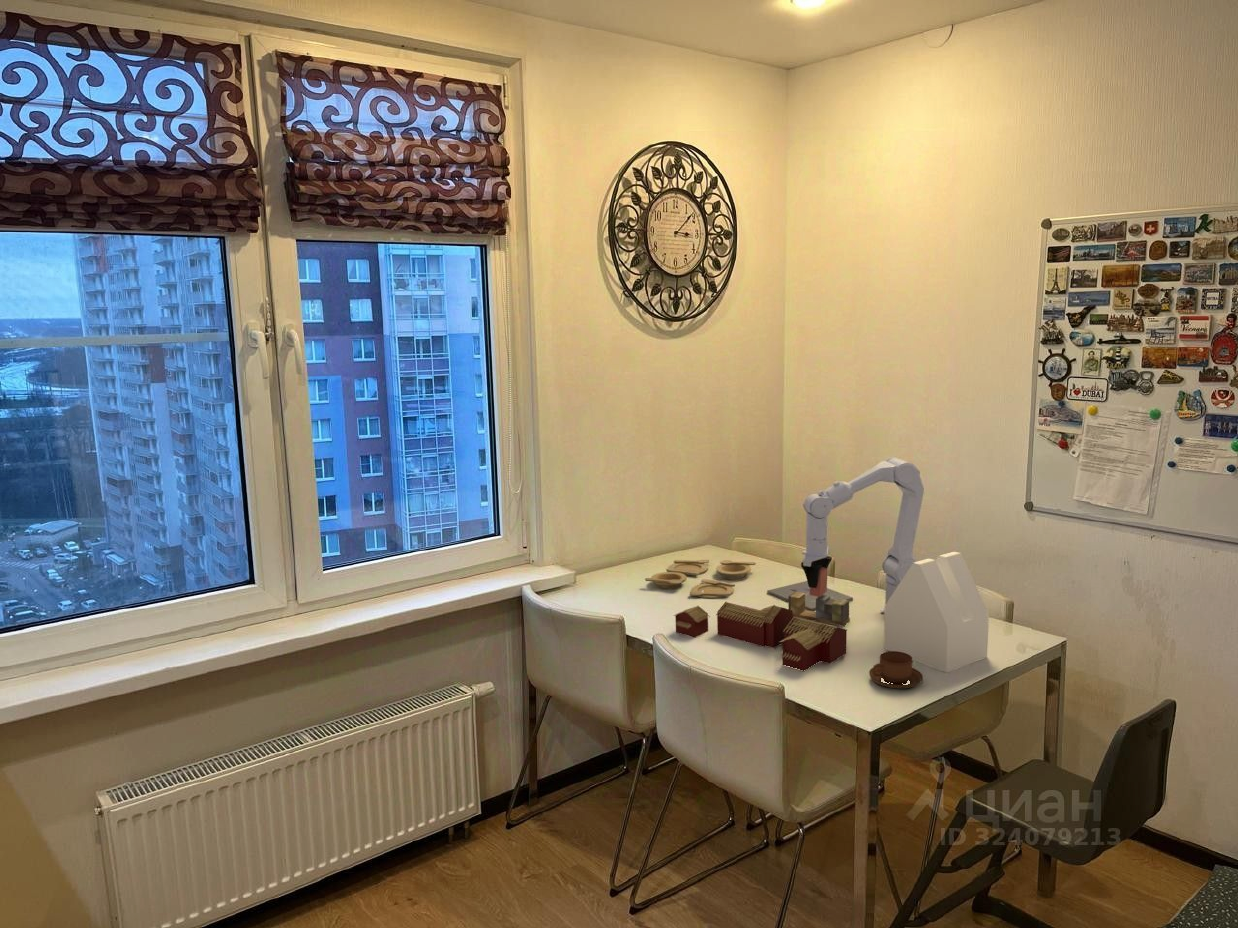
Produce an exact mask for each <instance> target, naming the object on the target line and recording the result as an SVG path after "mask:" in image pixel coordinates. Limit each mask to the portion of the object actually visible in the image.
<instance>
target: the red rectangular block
mask: <svg viewBox="0 0 1238 928" xmlns="http://www.w3.org/2000/svg"><path fill="white" fill-rule="evenodd" d="M828 568H829V567H828ZM828 568H824V567H821V569H820V572H819V576H818V584H817V587H816V588H811V587H810V595H812V596H817V597H821V596H822V595H823V594H825V593H826V592H827V588H828V573H829V572H828V570H829V569H828Z"/></svg>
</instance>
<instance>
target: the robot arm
mask: <svg viewBox="0 0 1238 928" xmlns="http://www.w3.org/2000/svg"><path fill="white" fill-rule="evenodd" d="M879 482H883V483H890V484H891V483H894V484H895V485H896V486H897V487H898V488H899V489H900V491H901V492H902V496H901V502H900V507H899V512H898V517H897V523H896V529H895V533H894V538H893V539H894V540H893V544H892V546H891V547H890V548H889V549H888V551H887V555H886V557H885V558H884V559H883V562H882V563H881V564H882V565H881V567H882V571H883V573H885V575H886V576H885V596H884V597H885V600H884V601H885V603H884V604H885V605H886V603H887V602H888V600H889V599H890V597H891V596H892V594H893V593H894V591H895V590H896V588H897V587H898V585H899V583H900V582H901V580H902V579H903V577H904V576H905V574H906V573H907V571H908V570H909V568H910V567H911V565H912V564H913V563H914V562H917V560H916V557H915V555H914V551H913V550H914V546H915V545H914V544H915V538H916V536H917V535H916V534H917V528H918V524H919V518H920V514H921V510H922V509H921V507H922V502H923V497H924V494H925V492H924V490H925V488H924V484H923V482H922V479H921V470H919V469H918V468H917V467H916V466H915V464H913V463H911V462H908V461H905V460H903V459H901V458H899V457H896V456H892V457H889V458H887V459H885V460H882V461H880V462H878V463H877V464H876V465H875V466H873V467H872V468H870V469H868V470H867V471H865V472H863V473H862V474H860V475H858V476H856V477H855V478H853V479H852V480H850V481H848V482H846V481H842V480H840V481H834V482H833V485H831V486H830V487H827V488H826V489H823V490H822V489H821V490H819V491H818V493H812V494H809V495H808V496H807V497H806V498H805V500H804V502H803V504H802V507H803V509H804V511H805V512H806V521H805V522H806V523H805V524H806V525H805V528H806V531H805V535H806V536H805V539H806V540H805V542H806V543H805V545H806V547H805V550H802V553H801V554H802V555H804V558H803V559H802V562H800V566H801V568H802V569H803V573H804V575H805V577H806V581H807V582H808V586H809V587H811V588H816V587H817V584H818V576H819V572H820V569H821V567H824V568H829V565H830V564H831V562H832V560H833V556H830V555H829V554H830V550H831V549H830V546H828V516H829V515H830V513H831V511H832V510H834V509H836V508H838V507H840V506H841V505H843V504H845V503H847V502H849V501H851V500H852V499H853V497H854V494H855V493H857V492H859V491H862V490H864V489H866V488H868V487H870V486H873V485H875V484H877V483H879ZM885 605H884V607H883V608H882V609H881V610H880V613H881V614H885Z"/></svg>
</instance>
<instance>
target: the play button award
mask: <svg viewBox="0 0 1238 928" xmlns="http://www.w3.org/2000/svg"><path fill="white" fill-rule="evenodd" d="M794 592H800V593H805V610H808V611H814V612H816V598H818V597H817V596H812V595H810V587H809V586H808V582H807V580H805V581H801V582H798V583H793V584H789V585H785V586H781V587H776V588H772V589H768V590H767V591H766V593H767V595H770V596H771V597H774V598H777V599H780V600H781V601H784V602H787V603H788V596H789V595H791V594H792V593H794ZM823 595H829V596H830V599H833V600H837V599H844V600H849V603H850V602H853V601H854V598H853V597H852V596H850V595H847V594H844V593H841V592H839V591H837V590H834V589H831V588H828V587H827V592H826V593H825V594H823Z"/></svg>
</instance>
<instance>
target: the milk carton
mask: <svg viewBox="0 0 1238 928" xmlns="http://www.w3.org/2000/svg"><path fill="white" fill-rule="evenodd" d="M884 607H885V613H884V623H883V624H884V625H883V626H884V630H883V631H884V633H883V634H884V635H883V639H884V640H883V648H884V649H885V650H888V651H898V652H903V653H906V654H909V655H910V656H911V657H912V661H913V660H914V661H915V662H918V663H921V664H923V665H925V666H928V667H931V668H933V669H937V670H939V671H941V672H944V673H946V674H947V673H949V672H952V671H955V670H958V669H960V668H963V667H966V666H968V665H971V664H973V663H975V662H979V661H981V660H984V659H987V658H988V648H989V647H988V645H989V644H988V643H989V620H990V619H989V618H990V616H989V615H990V613H989V611H988V608H987V607H986V605H985V601H983V598H982V595H981V594H980V592H979V589H978V587H977V585H976V583H975V581H974V579H973V577H972V574H971V571H970V570H969V568H968V566H967V563H966V562H965V559H964V557H963V555H962V553H961V552H957V551H952V552H948V553H944V554H941V555H940V554H939V556H937V558H936V559H933V558H925V559H921V560H919V561H916V562H914V563H913V564H912V565H911V567H910V568H909V570H908V571H907V573H906V574H905V576H904V577H903V579H902V580H901V582H900V583H899V585H898V587H897V588H896V590H895V591H894V593H893V594H892V596H891V597H890V599H889V600H888V602H887V603H886V605H884Z"/></svg>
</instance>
